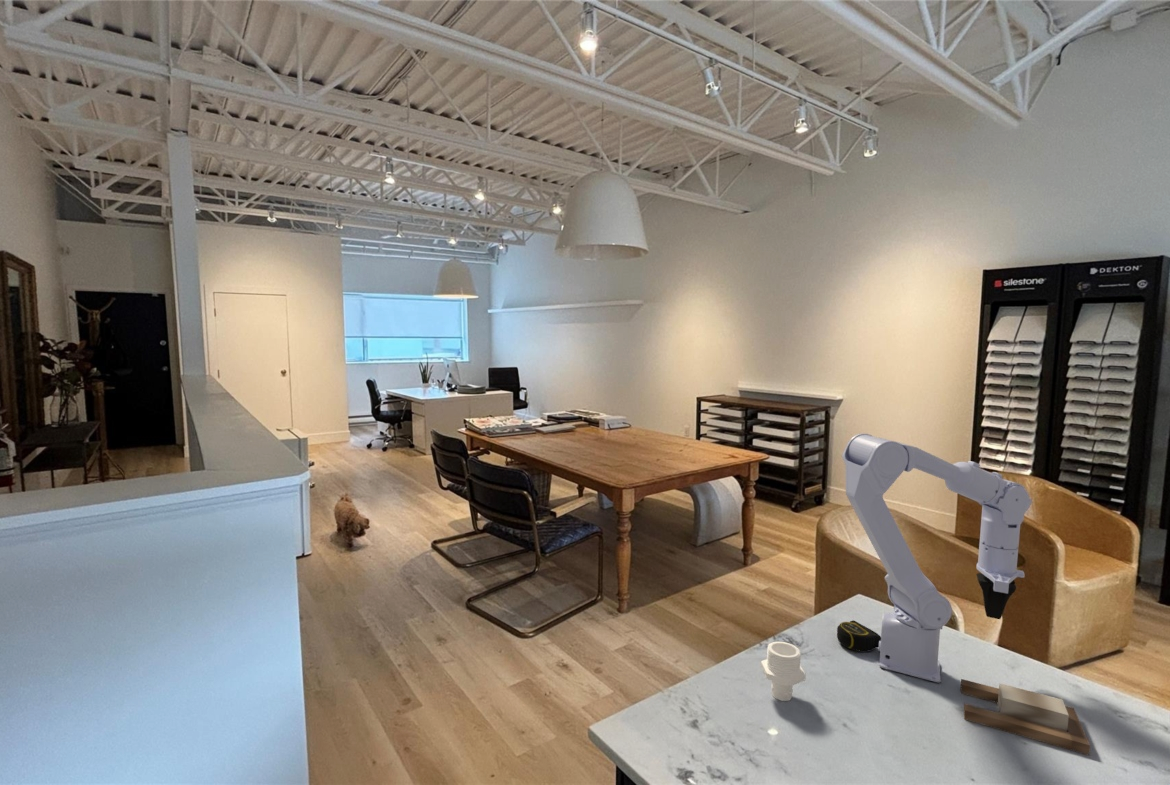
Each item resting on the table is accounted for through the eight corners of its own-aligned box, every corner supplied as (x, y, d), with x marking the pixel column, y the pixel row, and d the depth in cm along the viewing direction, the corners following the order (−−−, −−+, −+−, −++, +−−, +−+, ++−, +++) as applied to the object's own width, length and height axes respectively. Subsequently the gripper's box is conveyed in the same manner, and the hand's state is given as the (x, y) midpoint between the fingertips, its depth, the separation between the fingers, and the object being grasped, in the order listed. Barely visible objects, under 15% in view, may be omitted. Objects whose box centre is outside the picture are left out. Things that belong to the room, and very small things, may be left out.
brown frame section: (964, 719, 90) (965, 710, 89) (960, 687, 98) (961, 678, 98) (1089, 755, 82) (1090, 745, 82) (1072, 716, 91) (1073, 708, 90)
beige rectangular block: (1000, 721, 89) (1002, 697, 89) (997, 706, 93) (999, 683, 93) (1066, 740, 85) (1068, 715, 85) (1060, 723, 89) (1062, 699, 89)
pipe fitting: (751, 690, 96) (753, 645, 95) (782, 679, 99) (784, 635, 99) (780, 712, 90) (782, 664, 90) (812, 700, 94) (814, 653, 93)
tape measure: (883, 652, 110) (884, 633, 109) (855, 658, 107) (857, 639, 107) (854, 635, 116) (855, 617, 116) (828, 640, 113) (829, 622, 113)
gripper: (1033, 561, 95) (1026, 639, 96) (1020, 537, 107) (1014, 606, 109) (982, 553, 99) (976, 628, 100) (975, 530, 111) (969, 597, 112)
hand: (993, 616), depth 104 cm, fingers closed
